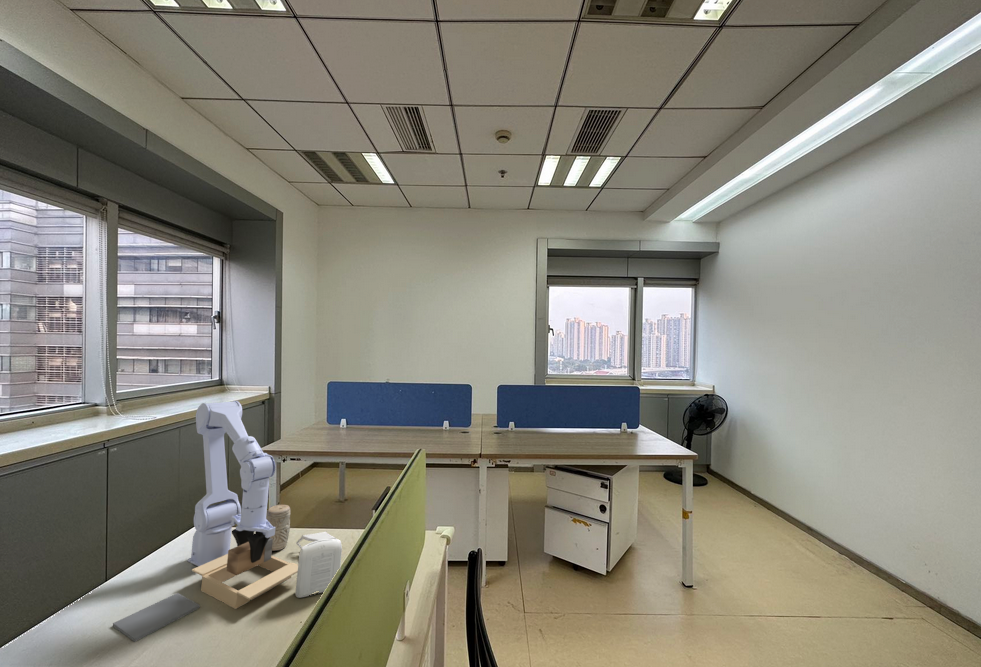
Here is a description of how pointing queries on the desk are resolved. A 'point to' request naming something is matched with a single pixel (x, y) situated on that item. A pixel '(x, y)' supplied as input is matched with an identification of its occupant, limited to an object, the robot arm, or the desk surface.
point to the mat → (155, 616)
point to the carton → (217, 574)
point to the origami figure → (315, 537)
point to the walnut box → (246, 558)
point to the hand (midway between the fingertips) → (249, 558)
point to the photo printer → (317, 566)
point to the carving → (279, 525)
